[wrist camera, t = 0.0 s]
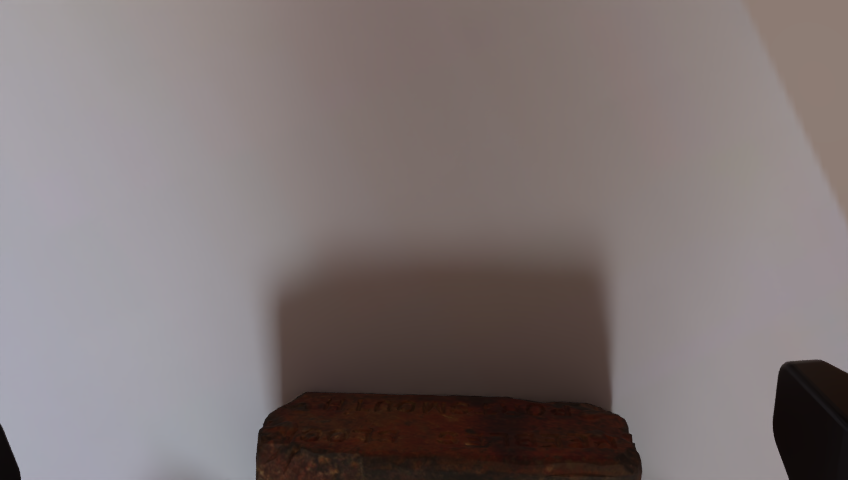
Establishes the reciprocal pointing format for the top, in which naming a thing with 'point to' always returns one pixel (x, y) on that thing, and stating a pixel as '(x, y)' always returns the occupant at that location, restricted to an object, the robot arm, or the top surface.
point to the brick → (442, 439)
